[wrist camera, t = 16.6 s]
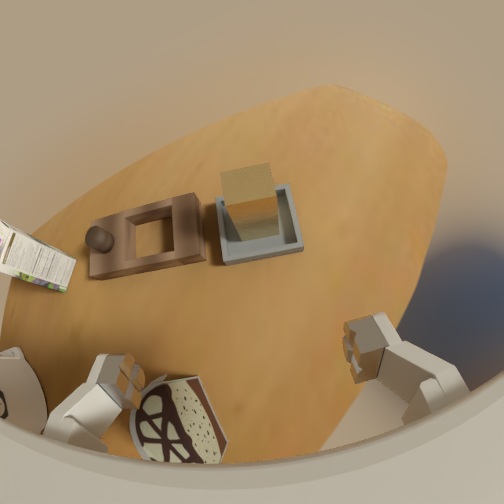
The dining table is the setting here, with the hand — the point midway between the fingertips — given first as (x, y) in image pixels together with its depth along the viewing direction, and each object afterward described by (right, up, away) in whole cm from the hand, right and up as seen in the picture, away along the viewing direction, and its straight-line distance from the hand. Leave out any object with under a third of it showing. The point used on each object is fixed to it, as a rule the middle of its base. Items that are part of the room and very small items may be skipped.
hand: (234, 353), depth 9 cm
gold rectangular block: (+1, +7, +24) cm, 25 cm away
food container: (-7, -16, +19) cm, 26 cm away
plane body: (-13, +5, +25) cm, 29 cm away
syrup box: (-30, +1, +27) cm, 40 cm away
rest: (+1, +7, +24) cm, 25 cm away
